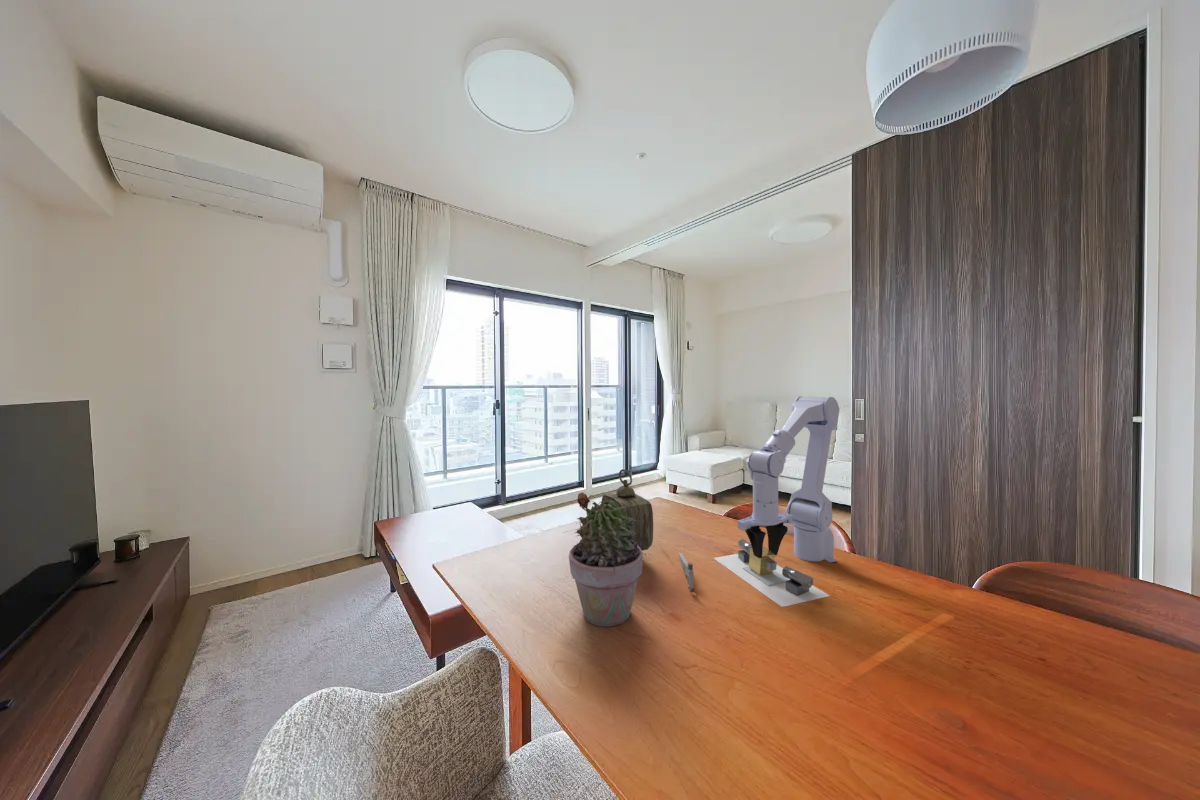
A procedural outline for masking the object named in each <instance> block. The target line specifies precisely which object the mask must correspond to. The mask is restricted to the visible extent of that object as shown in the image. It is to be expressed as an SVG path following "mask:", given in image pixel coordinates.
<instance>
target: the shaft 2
mask: <svg viewBox="0 0 1200 800" xmlns="http://www.w3.org/2000/svg"><path fill="white" fill-rule="evenodd" d="M782 568H783V570H782V575H783V576H784V577H786V578H788V579H790V580H788V581H786V590H787V591H789V592H791V593H793V594H795V595H796V596H799V595H801V594H804V593H806V592H809V588H810V587H811V586H812V585H813V586H814V578H813V577H812V576H810V575H808V574H806V573H803V572H801V571H799V570H797V569H794V568H792V567H789V566H787V565H785V566H784V567H782Z"/></svg>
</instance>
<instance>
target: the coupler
mask: <svg viewBox="0 0 1200 800" xmlns="http://www.w3.org/2000/svg"><path fill="white" fill-rule="evenodd" d="M748 554H749V555H750V558H749V568H751V569H752V570H753V571H754V572H756V573H757V574H758V575H759V576H762V575H767V574H772V573H773V570H776V566H777V565H778V564H777V561H775V557H776V555H775V554H774V553H772V552H771V551H769V548H768V547H765V546H764V545H763V551H762V558H758V557H756V556H754V554H753V549H752V547H748Z"/></svg>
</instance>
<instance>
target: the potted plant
mask: <svg viewBox="0 0 1200 800" xmlns="http://www.w3.org/2000/svg"><path fill="white" fill-rule="evenodd" d="M591 497H593V498H595V499H596V497H595V496H593V495H592V494H590V496H589V497H588V496H587V494H586V493H585V492H583V491H581V492H580V493H578V495H577V503H578V505H579V507H580V508H581V509H582V510H584V511H585V513H586V517H582V516H579V517H577V518H576V520H578V521H579V522H577V523H576V524H579V526H580V527H579V528H578V529H577V528H576V529H574V531H575V532H573V533H574V534H577V535H576V537H579V536H580V538H581V539H580V541H579V542H577V543H576V544H574V545H572V547H571V549H570V550H569V552H568V560H569V570H570V574H571V577H572V579H574V580H575V581H574V582H575V585H576V589H577V593H578V598H579V601H580V605H581V609H582V612H583V617H584V618H585V620H586V621H587V622H588V623H590V624H591V625H594V626H597V627H604V628H605V627H606V628H609V627H614V626H619V625H622V624H624V623H625V622H626V621H627V620H628V619H629V618H630V615H631V611H632V607H633V603H634V598H635V593H636V588H637V585H638V584H637V582H638V579H639V578H640V577H641V576H642V571H643V558H644V557H643V556H646V553H644V552H643V551H642V550H641V549H640V547H639V546H638V545H645V544H638V541H637V542H634V541H633V540H632V538H633V537H635V538H636V537H637V536H635V535H636V533H635V532H634V531H632V530H631V529H630V527H631V526H632V524H636V523H633V521H636V520H633V518H630V517H628V516H627V513H626V511H627V508H626V507H617V506H616V504H615V502H614V501H612V500H609V504H608V505H606V504H605V503H604V502H603V500H602V499H601V501H599V503H597V502H596V501H593V500H590V498H591ZM591 502H592V506H591ZM589 504H590V506H591V509H590V508H588V507H589ZM640 522H641V521H640ZM646 523H647V522H646ZM638 525H639V524H638ZM645 527H646V526H645ZM648 528H649V527H648ZM571 531H573V530H572V529H571V530H570V532H571ZM567 532H569V530H568V531H564V532H563V534H565V533H567ZM573 533H572V534H573ZM572 534H571V535H572ZM639 538H640V537H639ZM638 540H639V539H638ZM650 547H653V544H652V545H650ZM655 547H656V548H657V546H655V545H654V548H655ZM649 555H651V556H652V557H653V555H652V554H651V553H649ZM649 560H650V561H651V558H649Z"/></svg>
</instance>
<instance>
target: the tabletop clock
mask: <svg viewBox="0 0 1200 800" xmlns="http://www.w3.org/2000/svg"><path fill="white" fill-rule="evenodd" d="M623 472H624V473H626V474H627V475H628V477H629V479H630V480H629V481H630V482H629V483H628V480H627V479H624V480H623V479H622V473H623ZM618 478H619V481H620V483H621V484H623V485H621V486H619V487H618V488H617V490H616V492H615V493H610V494H603V495H602V497H601V501H602V500H603V502H604V503H605V504H606V505H608V504H609V500H612V501H614V502H615V504H616V506H617V507H626V508H627V511H626V513H627V516H628V517H630V518H633V520H636V521H633V523H636V524H632V526H631V527H630V529H631V530H632V531H634V532H635V533H636V535H635V536H637V537H636V538H635V537H633V538H632V540H633V541H634V542H637V541H638V544H645V545H638V546H639V547H640V549H641V550H642V552H643V551H647V550H649V549H650V547H651V546H650V545H652V546H653V543H654V512H653V506H652V503H651V502H650V501H649V500H648V499H646V498H644V497H643V496H641V495H638V494H636V493H635V490H634V489H633V487H631V485H632V484H633V478H632V475H631V473H630V472H629V470H627V469H625V468H622V469H621V470H619V473H618ZM640 521H641V522H640ZM646 522H647V523H646ZM638 524H639V525H638ZM645 526H646V527H645ZM648 527H649V528H648ZM639 537H640V538H639ZM638 539H639V540H638Z"/></svg>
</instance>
